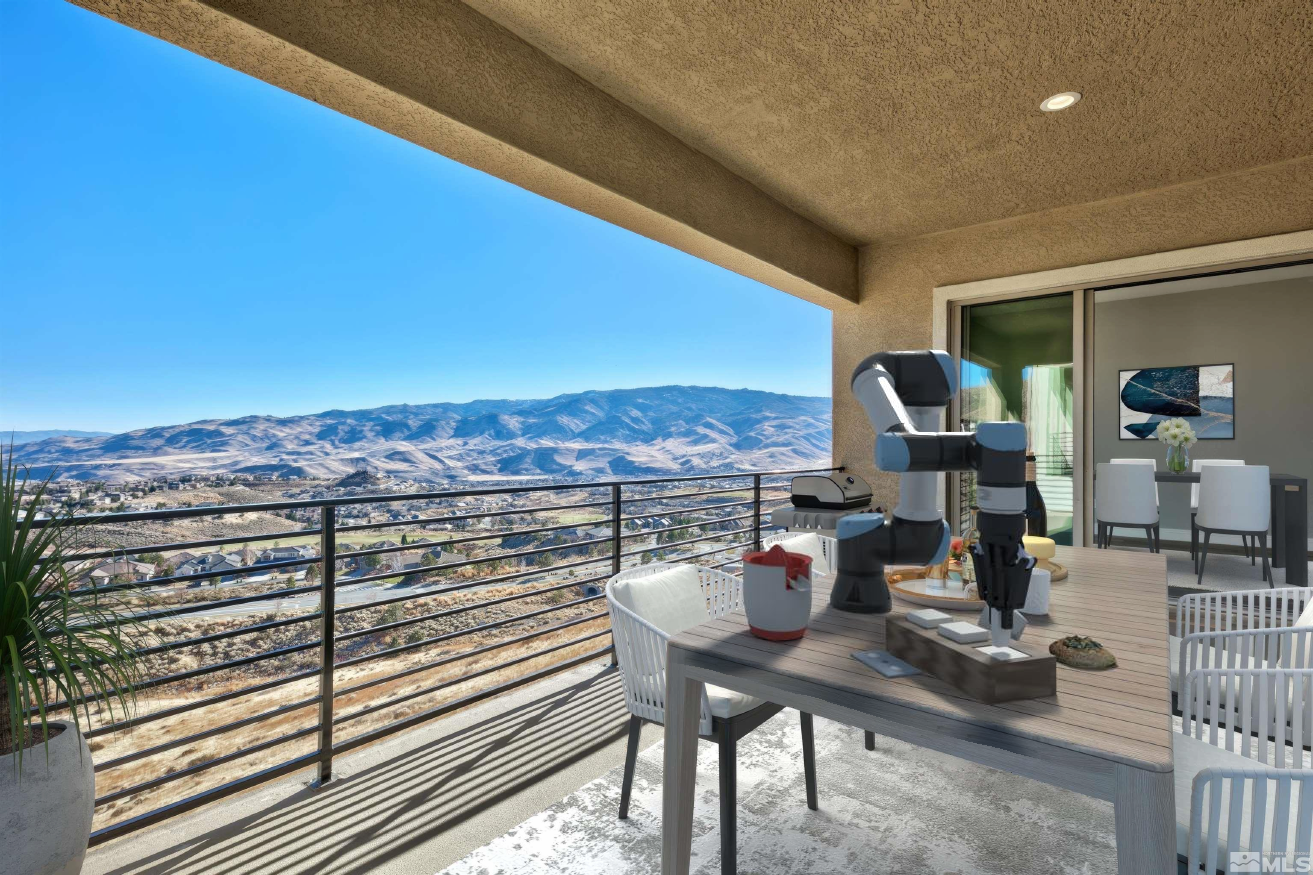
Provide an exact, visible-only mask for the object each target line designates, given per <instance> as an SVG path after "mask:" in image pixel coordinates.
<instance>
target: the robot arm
mask: <svg viewBox="0 0 1313 875" xmlns="http://www.w3.org/2000/svg"><path fill="white" fill-rule="evenodd" d="M958 378H959V377H958V371H957V367H956V364H955V361H954V359H953V357H952V356H951V355H950V354H949V353H948V352H947V351H945V350H939V349H938V350H935V349H919V350H893V351H892V350H883V351H879V352H876V353H875V352H874V353H873V354H871V355H869V356H867V357H865V358H864V359H863V360H862V361H860V363H859V364H858V365H857V366H856V367H855V369H854V370H853V372H852V374H851V377H850V390H851V393H852V395H853V397H854V399H855V400H856V402H857V403H859V404H861V405H862V407H863V408H864V409H865V412H866V414H867V416H868V418H869V420H870V422H871V424H872V426H873V429H874V430H875V432H876V437H875V439H874V448H873V450H874V452H873V453H874V454H873V455H874V459H875V460H874V461H875V466H876V467H877V468H878V469H879V470H880V471H882V472H891V473H896V474H899V475H900V476H899V498H898V499H899V502H898V506H897V507H896V508H894V509H893V510H892V518H889V519H886V517H885V515H883V513H880V512H871V513H870V512H866V513H855V514H849V515H846V516H843V517H842V518H840V519H839V520H838V521H837V523H836V535H835V539H836V576H835V579H834V581H833V585H832V589H831V592H830V595H829V604H830V606H831V607H833V608H834V609H837V610H840V611H844V612H847V613H848V612H849V613H854V614H868V615H869V614H870V615H871V614H883V613H887V612H889V611H891V610H892V608H893V598H892V596H891V592H890V590H889V587H888V584H887V581H886V578H885V566H892V567H893V566H896V567H897V566H900V567H902V566H905V567H906V566H908V567H910V566H912V567H929V566H930V567H931V566H932V567H933V566H935V567H936V566H939V565H941V564H943V563H944V561H946V559H947V558H948V555H949V552H950V549H951V540H952V539H951V538H952V536H951V528H950V525H949V523H948V522H947V521H946V520H944V519H943V513H941V511H940V510H939V509H937V496H938V494H937V492H938V489H937V488H938V473H939V472H941V473H943V472H945V473H958V472H959V473H965V472H966V473H969V472H970V473H976V506H977V508H979V510H977V512H976V530H977V532H978V533H980V535H979V537H978V541H977V542H976V543H974V544H968V546H967V551H968V553H969V555H970V556H971V559H972V565H973V571H974V577H975V583H976V588H977V589H976V590H977V594H978V598H979V600H981V601H984V602H985V603H987V605H988V606H989V623H990V624H991V645H992V646H995V647H997V648H1000V647H1008V646H1011V629H1012V628H1013V611H1014V610H1017V609H1023V608H1024V606H1025V601H1026V597H1027V592H1028V588H1029V583H1030V579H1031V574H1032V570H1033V568H1036V566H1037V564H1038V562H1039V560H1038V558H1037V556H1035V555H1034V556H1031V555H1029V553H1028V552H1027V551H1026V549H1025V548H1026V547H1025V543H1024V541H1023V537H1024V535H1025V534H1026V532H1027V514H1025V512H1023V511H1025V510H1026V509H1027V480H1026V479H1027V446H1028V441H1027V431H1026V426H1025V424H1024V423H1023V422H1022V421H981V422H979V423H978V424H977V426H976V430H975V431H974V430H973V431H971V430H967V431H953V432H952V431H951V432H950V431H949V432H946V431H945V432H941V431H940V424H941V423H940V422H941V421H940V420H941V417H940V416H941V415H940V414H941V413H942V411H944V409H946V408H947V407H948V399H952V398H954V397H955V395H957V390H958V386H959V383H958V382H959V380H958Z"/></svg>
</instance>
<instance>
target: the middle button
mask: <svg viewBox="0 0 1313 875" xmlns="http://www.w3.org/2000/svg"><path fill="white" fill-rule="evenodd" d="M967 622H968V621H967ZM967 622H955V623H946V624H938V633H939V634H941V635H944V636H946V637H948V638H950V639H953V640H955V641H957V642H960V643H968V642H976V641H984V640H989V631H988V630H985V629H982V628H980V627H977V626H978V625H977V626H975V625H976V624H974V625H972V624H973V623H972V624H970V623H971V622H969V623H967Z"/></svg>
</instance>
